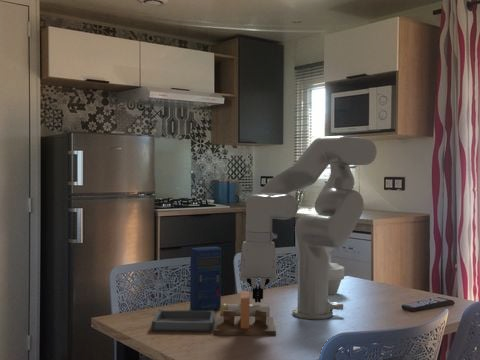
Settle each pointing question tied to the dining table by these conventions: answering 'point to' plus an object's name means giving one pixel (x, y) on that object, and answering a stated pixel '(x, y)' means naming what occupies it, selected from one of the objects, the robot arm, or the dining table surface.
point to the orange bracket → (245, 309)
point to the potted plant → (334, 274)
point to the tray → (183, 321)
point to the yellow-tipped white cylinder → (238, 309)
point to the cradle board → (233, 327)
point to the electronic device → (205, 278)
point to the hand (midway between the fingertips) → (257, 301)
